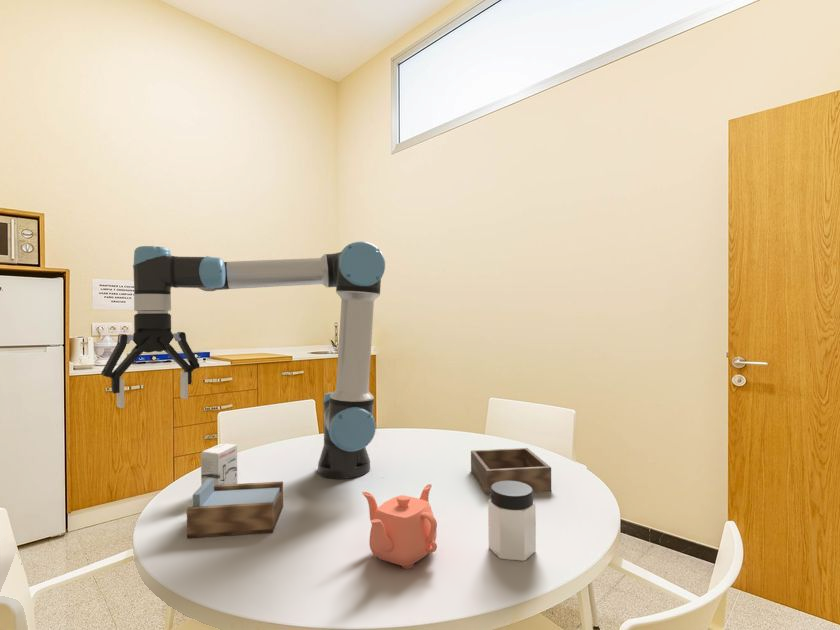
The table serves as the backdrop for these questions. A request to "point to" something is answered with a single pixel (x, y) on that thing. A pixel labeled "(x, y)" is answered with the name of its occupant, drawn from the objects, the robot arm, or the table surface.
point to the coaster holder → (510, 468)
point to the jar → (512, 520)
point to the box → (235, 515)
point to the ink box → (220, 464)
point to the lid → (232, 495)
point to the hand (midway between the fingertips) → (153, 402)
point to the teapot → (402, 528)
